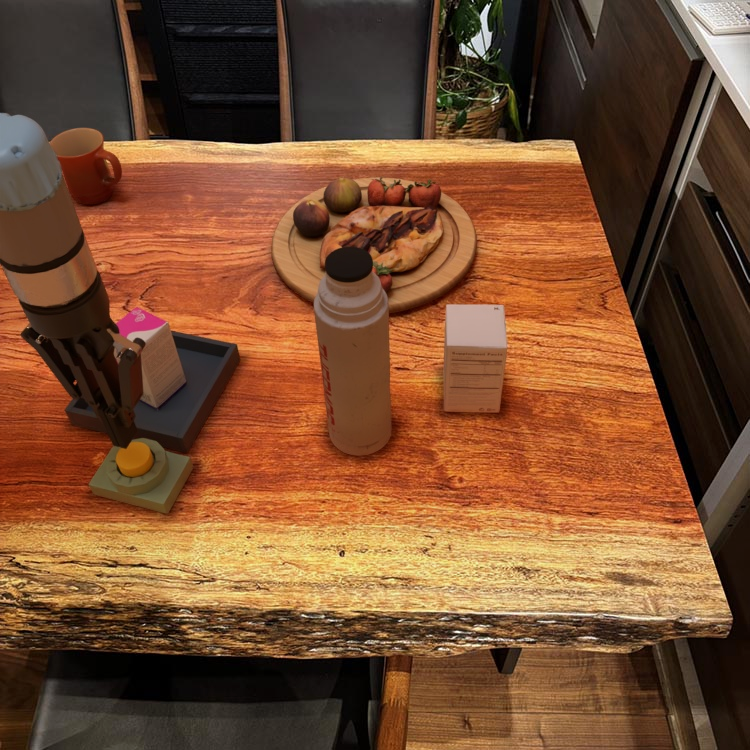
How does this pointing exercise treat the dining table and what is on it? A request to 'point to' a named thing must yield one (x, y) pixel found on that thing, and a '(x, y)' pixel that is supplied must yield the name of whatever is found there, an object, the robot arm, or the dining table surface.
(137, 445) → the button
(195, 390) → the tray
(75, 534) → the dining table surface
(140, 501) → the control block
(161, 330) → the supplement box
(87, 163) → the mug
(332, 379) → the thermos bottle
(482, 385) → the white packaging box
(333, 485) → the dining table surface
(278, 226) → the wooden plate
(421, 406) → the dining table surface
